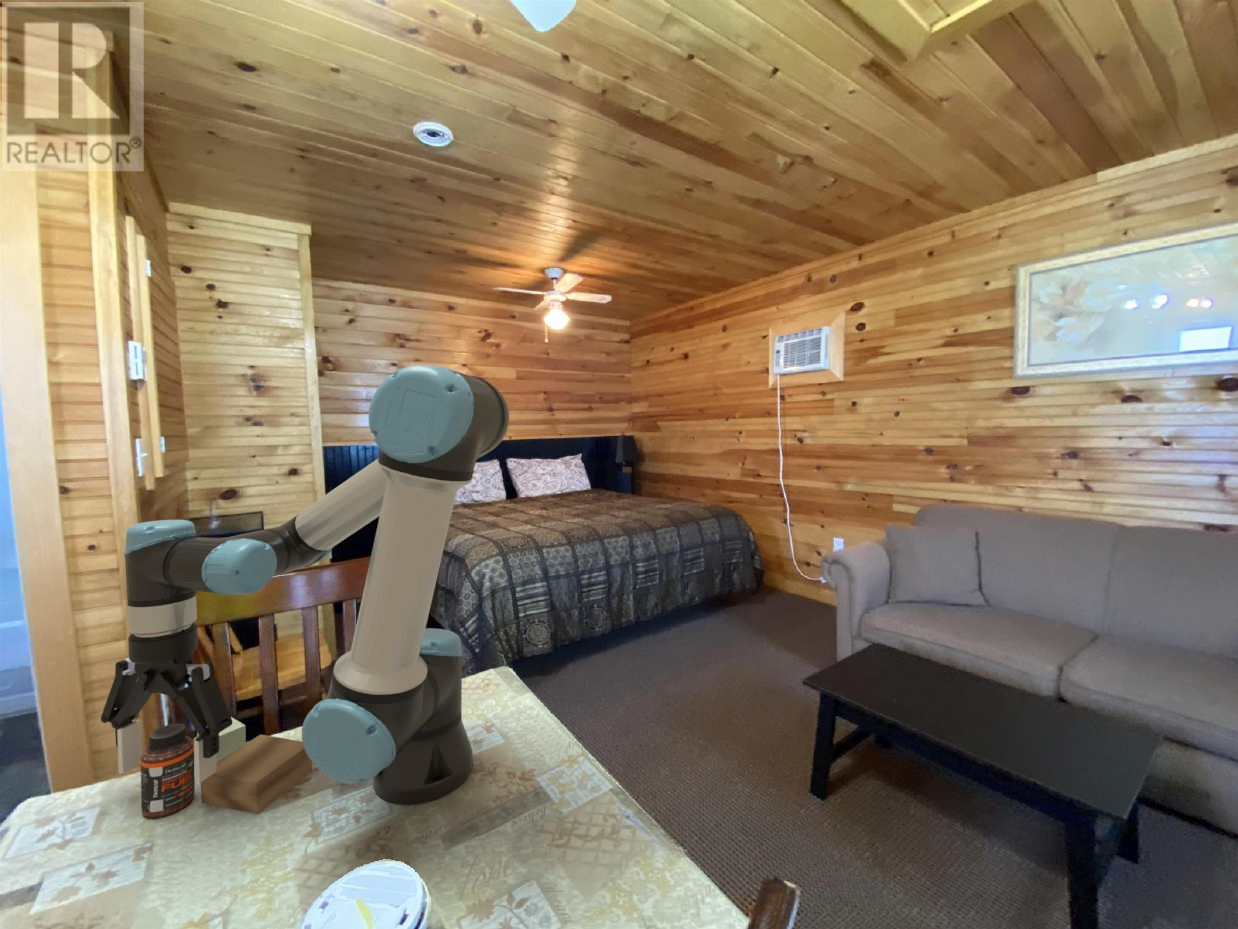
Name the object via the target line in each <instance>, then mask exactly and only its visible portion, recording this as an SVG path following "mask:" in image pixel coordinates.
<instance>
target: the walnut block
mask: <svg viewBox="0 0 1238 929" xmlns="http://www.w3.org/2000/svg"><path fill="white" fill-rule="evenodd" d="M312 772H313V761H312V760H311V759H310V758H309V757H308V755H307V753H306V751H305V748H304V745H303V741H302V740H295V739H290V738H283V737H277V736H271V735H265V734H259V735H257V736H256V737H254V738H253V739H251V740H249V741H247V742H246V744H245V745H243V746H241V747H240V748H238V749H237V750H235V751H233V752H232V753H230V754H229V755H227V756H226V757H224V758H222V759H221V760H219V761H218V762H217V772H215V773H214V774H212V775H211V776H209V777H208V778H207V779H205V780H204V781H202V782H201V783H200V797H201V798H200V799H201V800H200V802H201V804H204V805H209V806H215V807H220V808H225V809H230V810H233V811H240V812H244V813H249V814H254V815H259V813H261V812H262V811H264V810H265V809H266V808H267V807H269V806H270V805H271V804H272V803H274V802H275V801H276V800H277V799H279V798H280V797H281V796H282V795H283V794H286V792H288V791H289V790H290V789H291V788H293V787H294V786H295V785H296V784H298V783H299V782H300V781H302V780H303V779H304V778H305V777H307V776H308V775H309V774H310V773H312Z"/></svg>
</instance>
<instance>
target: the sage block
mask: <svg viewBox="0 0 1238 929" xmlns="http://www.w3.org/2000/svg"><path fill="white" fill-rule="evenodd" d="M231 719H232V722H233V723H232V725H231V726H229V727H228V728H226V729H224V730H223V731H221V732H220V733H219V751H218V753H217V754H216V760H217V762H218V761H219V760H221V759H222V758H224V757H226V756H227V755H229V754H230V753H232V752H233V751H235V750H237V749H238V748H240V747H241V746H243V745H245V744H246V743H247V740H246V738H247V735H246V725H245V724H244V723H242V722H241V721H239V720H238V719H235V718H234V717H232V716H231ZM206 727H208V725H206ZM197 736H199V734H198V733H197V732H196V737H197Z"/></svg>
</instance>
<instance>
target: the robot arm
mask: <svg viewBox="0 0 1238 929" xmlns="http://www.w3.org/2000/svg"><path fill="white" fill-rule="evenodd" d="M509 422H510V411H509V406H508V403H507V401H506V399H505V397H504V396H503V394H502V393H501V391H500V390H499V389H498V388H497V387H496V386H495V385H494V384H493V383H491V382H489V381H488V380H486V379H484V378H482V377H478V376H474V375H470V374H466V373H462V372H459V371H457V370H454V369H450V368H447V367H445V366H435V365H427V364H416V365H408V366H406V367H405V366H404V367H402V368H400V369H398V370H396V371H395V372H393V373H392V374H389V375H388V376H387V377H386V378H385V379H384V380H383V381H382V382H381V383H380V384H379V385H378V387H377V389H376V390H375V392H374V394H373V396H372V398H371V401H370V403H369V409H368V426H369V431H370V432H371V434H373V436H374V437H375V438H374V442H375V443H376V445H377V446H378V447H379V448H380V450H379V455H378V458H377V459H375V460H373V462H371V463H370V464H367V465H366V466H365V467H364V468H362V469H360V470H359V471H358V472H357V473H356V472H355V474H354V475H351V476H350V477H349V478H348V479H347V480H345V481H344V482H342V483H341V484H339V485H338V486H336V487H335V488H334V489H331V491H329V492H328V493H326V494H325V495H323V496H322V497H321V498H319V499H318V500H316V501H314V502H313V503H312V504H310V506H308V507H306V508H305V509H303V510H302V511H300V513H298V514H296V515H295V516H294V517H292V518H290V519H289V520H288V521H286V522H284V523H283V524H281V525H278V526H276V527H275V526H274V527H269V528H266V529H261V530H257V531H256V530H255V531H251V532H246V533H242V534H237V535H233V536H232V535H231V536H229V537H202V536H197V532H196V529H195V528H196V527H195V524H194V523H193V522H192V521H191V520H187V519H161V520H151V521H144V522H143V521H142V522H139V523H136V524H133V525H131V526H130V527H128V528H127V530H126V531H125V532H126V534H125V549H124V553H123V556H124V562H125V563H124V564H125V580H126V582H125V583H126V599H127V604H126V618H127V619H126V623H127V626H126V627H127V631H128V633H130V635H129V636H128V639H127V640H128V643H127V644H128V657H127V658H124V659H122V660H120V661H117V662H116V663H115V668H114V669H115V670H114V672H115V674H114V675H115V677H114V680H113V682H112V685H111V688H110V690H109V693H108V696H107V699H106V702H105V704H104V707H103V711H102V713H101V716H100V721H101V722H102V723H103V724H106V723H110V725H111V727H112V728H113V729H115V730H114V732H115V746H116V748H117V760H118V764H117V765H118V774H121V775H122V774H125V773H127V772H129V771H130V770H132V769H133V768H135V767H137V766H139V765H141V755H142V753H143V741H142V740H143V737H142V736H143V732H142V731H143V730H142V720H140V719H138V718H140V717H141V715H140V712H141V711H142V709H143V708H144V707H145V705H146V704H147V702H148V701H149V699H150V698H151V696H152V695H153V694H157V693H158V694H159V693H160V694H161V695H166V696H168V698H169V699H170V700H172V701H176V703H177V704H178V706H179V707H180V708H181V710H182V712H183V713H184V714H185V716H186V717H187V719H188V721H189V722H190V724H191V725H192V727H193V728H194V729H195V731H196V734H197V733H198V734H199V736H197V735H196V736H195V737H194V738H193V742H194V774H195V776H194V777H195V784H201V782H202V781H204V780H205V779H207V778H208V777H209V776H211V775H212V774H214V773H215V772H217V760H216V754H217V753H218V751H219V733H220V732H221V731H223V730H224V729H226V728H228V727H229V726H231V725H232V723H233V722H232V719H231V717H232V716H231V714H230V712H229V709H228V707H227V704H226V701H225V699H224V696H223V694H222V692H221V689H220V686H219V683H218V681H217V679H216V674H215V673H216V672H215V663H214V662H212V661H208V662H205V663H203V664H196V663H195V661H194V659H193V654H194V652H195V651H196V650H197V648H198V645H199V640H198V639H199V638H198V625H197V624H196V623H195V621H197V619H198V614H197V612H198V611H197V610H198V609H197V592H201V593H212V594H213V593H214V594H220V595H227V596H235V595H250V594H255V593H259V591H261V590H263V589H264V587H265V586H266V585H267V584H269V583H270V582H271V581H272V579H273V578H274V577H278V576H281V575H283V574H287V573H290V572H293V571H296V570H299V569H303V568H308V567H311V566H313V565H315V564H317V563H319V562H321V561H323V560H325V559H326V558H327V557H329V555H330V554H331V552H332V550H333V548H334V547H335V546H337V545H338V544H340V543H341V542H342V541H344V540H346V539H347V538H348V537H351V535H353V534H355V533H356V532H357V531H359V530H361V529H362V528H364V527H365V526H366V525H368V524H370V523H371V522H372V521H374V520H376V519H377V518H378V523H377V528H376V532H375V536H374V540H373V541H374V542H373V546H372V550H371V555H370V559H369V565H368V568H367V574H366V579H365V583H364V588H363V592H362V597H361V602H360V606H359V611H358V616H357V621H356V625H355V630H354V633H353V638H352V644H351V647H350V650H349V651H347V652H345V653H344V654H342V655H341V656H340V657H339V658H338V659H337V660H336V662H335V664H334V667H333V672H332V675H331V681H330V684H329V689H328V693H327V695H326V697H325V699H324V700H320V701H319V702H317V703H316V704H314V706H313V708H312V709H311V710H310V711H309V712H308V713H307V715H306V717H305V718H304V721H303V724H302V728H301V741H303V745H304V748H305V751H306V753H307V755H308V757H309V758H310V759H311V760H312V764H313V765H314V767H315V768H316V769H317V770H319V771H320V772H321V773H322V775H325V776H326V777H328V778H329V779H331V780H334V781H335V782H339V783H342V784H351V785H352V784H353V785H354V784H362V783H365V782H367V781H369V780H371V779H372V782H373V783H372V784H373V790H374V792H375V794H377V796H379V798H380V799H382V800H385V801H387V802H389V803H394V804H399V805H414V804H421V803H425V802H430V801H433V800H437V799H439V798H441V797H443V796H446V795H447V794H450V793H452V792H453V791H455V790H456V789H457V788H459V787H460V786H461V785H463V783H464V782H466V780H467V778H468V777H469V776H470V775H471V772H472V770H473V758H474V756H473V754H474V753H473V748H472V745H471V742H470V739H469V736H468V733H467V731H466V728H465V725H464V723H463V719H462V718H463V717H462V709H463V707H462V704H463V703H462V695H463V692H462V691H463V690H462V689H463V688H462V686H463V683H462V682H463V674H462V673H463V657H464V656H463V654H464V653H463V652H462V640H461V636H460V635H458V633H455V632H454V631H452V630H449V629H448V630H447V629H443V628H430V627H429V628H427V623H428V619H429V615H430V614H429V613H430V610H431V606H432V601H433V597H434V592H435V588H436V585H437V584H436V583H437V579H438V575H439V570H440V566H441V562H442V558H443V553H444V549H445V545H446V541H447V540H446V539H447V536H448V530H449V527H450V522H451V519H452V514H453V510H454V507H455V506H454V504H455V501H456V497H457V493H458V491H459V490H460V489H462V488H463V487H465V486H466V485H468V484H470V483H471V482H472V480H473V474H474V473H475V472H474V471H475V467H476V462H477V460H478V459H480V458H482V457H483V456H485V455H487V454H488V453H490V452H492V451H493V450H494V449H496V448H497V447H498V446H499V445H500V444H501V443H502V441H503V439H504V438H505V435H506V434H507V432H508V428H509V424H510V423H509ZM186 685H187V686H186ZM185 686H186V687H185ZM207 726H208V727H207Z"/></svg>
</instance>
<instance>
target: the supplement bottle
mask: <svg viewBox="0 0 1238 929" xmlns="http://www.w3.org/2000/svg"><path fill="white" fill-rule="evenodd" d="M186 733H187V732H186V725H185V724H184V723H183V724H182V723H173V724H167V725H164V726H161V727H158V728H157V729H155V730H153V731H152V732H151V733H150V734H149V737H148V738H149V742H148V743H149V745H148V746H147V747H146V748H145V749H144V750H142V755H141V764H140V795H141V797H140V800H141V802H140V805H141V806H140V807H141V813H142V815H143V816H145V817H148V818H161V817H165V816H166V817H167V816H168V815H171V814H174V813H175V812H178V811H180V810H182V809H183V808H185V807H186V806H187V805H188V804H190V803H191V801H192V800H193V799H194V797H195V790H196V789H195V788H196V787H195V784H196V783H195V766H194V739H192V738H191V737H190V736H187V734H186Z"/></svg>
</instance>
